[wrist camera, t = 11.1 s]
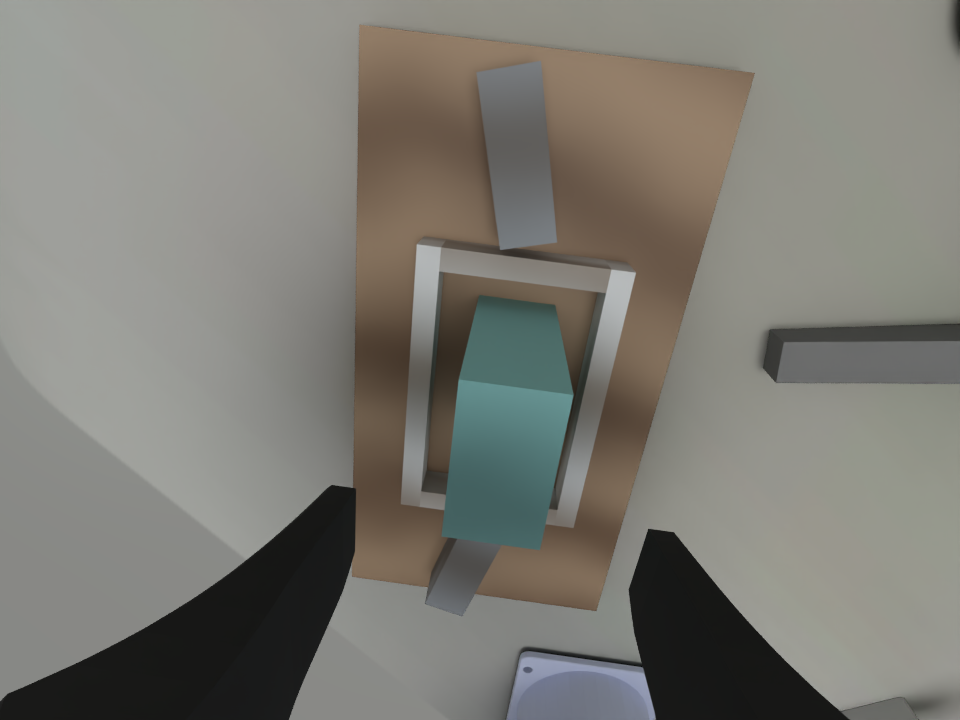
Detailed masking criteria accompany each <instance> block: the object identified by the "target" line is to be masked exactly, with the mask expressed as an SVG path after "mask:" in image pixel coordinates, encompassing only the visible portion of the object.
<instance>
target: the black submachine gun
mask: <svg viewBox="0 0 960 720" xmlns="http://www.w3.org/2000/svg"><path fill="white" fill-rule="evenodd" d="M763 368H764V370H765V371H766V372H767V373H768V374H769V375H770V377H771V378H772V379H773V380H774V381H775V382H776V383H910V384H960V324H946V325H901V326H868V327H835V328H802V329H770V334H769V339H768V345H767V350H766V356H765V361H764V367H763Z"/></svg>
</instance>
